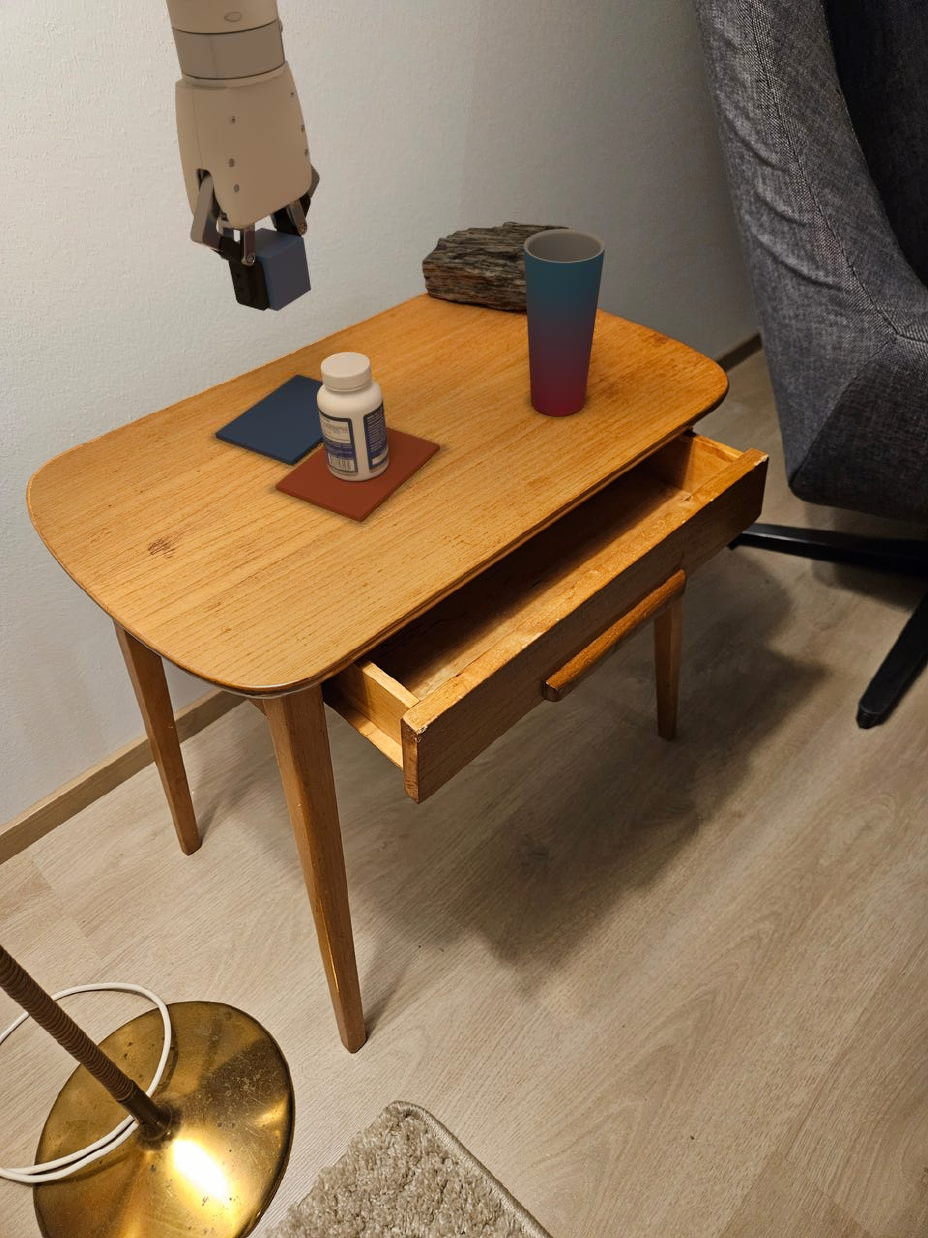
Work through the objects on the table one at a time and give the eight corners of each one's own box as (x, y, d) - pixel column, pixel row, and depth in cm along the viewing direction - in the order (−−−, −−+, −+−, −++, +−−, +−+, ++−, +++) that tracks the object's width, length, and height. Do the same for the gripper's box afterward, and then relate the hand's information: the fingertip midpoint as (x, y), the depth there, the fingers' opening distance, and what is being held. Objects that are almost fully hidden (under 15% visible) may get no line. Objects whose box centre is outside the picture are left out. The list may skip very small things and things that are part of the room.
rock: (464, 263, 114) (460, 210, 110) (590, 278, 109) (591, 223, 104) (420, 305, 106) (414, 250, 102) (553, 324, 101) (553, 267, 97)
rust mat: (360, 522, 79) (360, 517, 78) (275, 489, 82) (274, 485, 82) (440, 449, 86) (439, 444, 85) (358, 422, 89) (358, 417, 89)
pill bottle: (380, 442, 86) (370, 341, 79) (396, 475, 82) (387, 373, 75) (321, 454, 85) (305, 354, 78) (335, 488, 81) (319, 386, 74)
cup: (511, 390, 92) (512, 235, 82) (577, 378, 94) (586, 223, 83) (536, 427, 88) (540, 267, 77) (605, 413, 89) (618, 254, 79)
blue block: (277, 311, 79) (268, 258, 76) (236, 299, 81) (225, 247, 78) (311, 289, 82) (303, 237, 79) (270, 278, 84) (261, 226, 81)
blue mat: (292, 465, 85) (291, 460, 84) (215, 437, 88) (214, 433, 88) (371, 401, 92) (371, 397, 91) (298, 378, 95) (297, 373, 95)
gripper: (266, 17, 75) (301, 247, 88) (105, 75, 65) (171, 325, 78) (343, 27, 72) (368, 263, 85) (187, 89, 62) (241, 347, 75)
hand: (273, 290), depth 81 cm, fingers closed on blue block, 4 cm apart
